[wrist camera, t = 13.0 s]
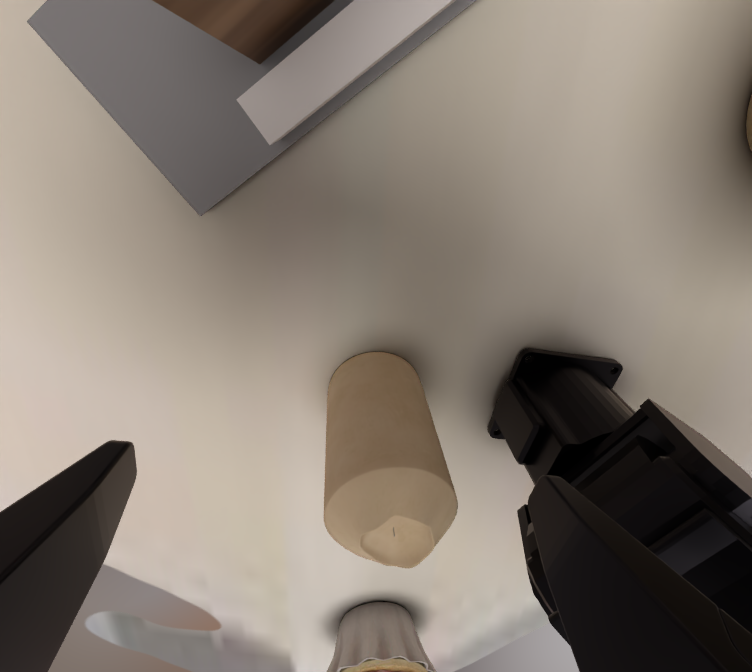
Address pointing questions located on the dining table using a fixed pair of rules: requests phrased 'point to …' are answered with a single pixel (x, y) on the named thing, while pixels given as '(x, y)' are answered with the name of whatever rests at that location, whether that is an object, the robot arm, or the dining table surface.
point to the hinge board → (227, 79)
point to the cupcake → (379, 641)
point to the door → (249, 21)
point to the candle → (384, 463)
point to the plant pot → (749, 124)
